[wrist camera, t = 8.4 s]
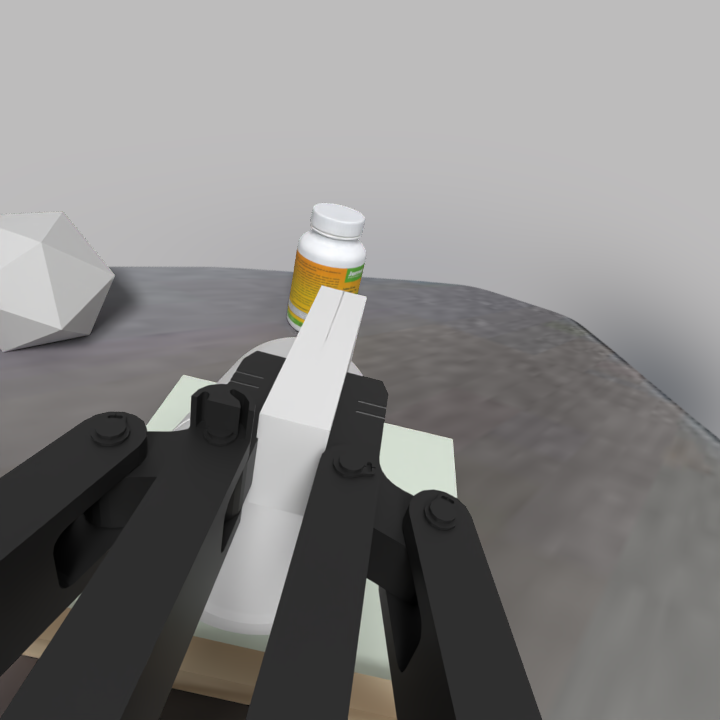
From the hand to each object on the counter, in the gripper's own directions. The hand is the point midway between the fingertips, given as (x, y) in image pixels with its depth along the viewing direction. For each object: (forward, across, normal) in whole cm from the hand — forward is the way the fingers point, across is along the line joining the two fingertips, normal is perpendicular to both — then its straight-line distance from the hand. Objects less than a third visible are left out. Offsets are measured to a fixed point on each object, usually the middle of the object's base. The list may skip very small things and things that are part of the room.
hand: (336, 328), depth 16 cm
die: (+13, -20, -13) cm, 27 cm away
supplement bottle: (+23, -3, -13) cm, 27 cm away
